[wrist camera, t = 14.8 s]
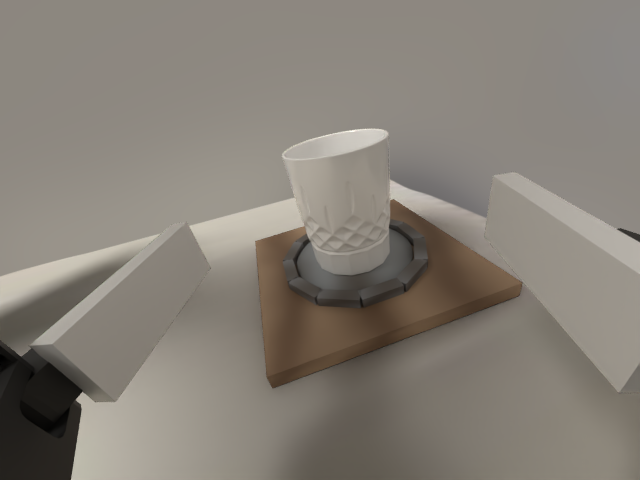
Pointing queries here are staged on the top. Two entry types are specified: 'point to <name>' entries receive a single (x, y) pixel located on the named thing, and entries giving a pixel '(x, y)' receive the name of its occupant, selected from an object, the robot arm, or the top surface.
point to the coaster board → (367, 295)
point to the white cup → (344, 197)
